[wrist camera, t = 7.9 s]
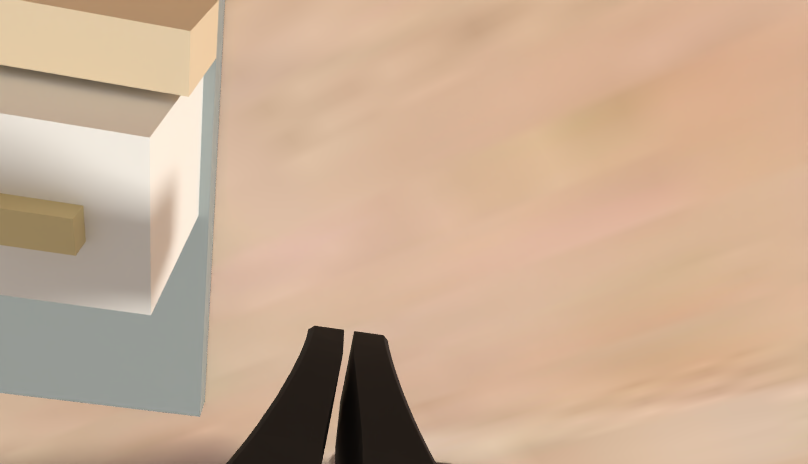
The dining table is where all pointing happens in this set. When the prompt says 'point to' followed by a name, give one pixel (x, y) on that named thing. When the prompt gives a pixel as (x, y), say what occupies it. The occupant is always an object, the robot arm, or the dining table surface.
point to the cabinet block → (94, 188)
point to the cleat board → (191, 276)
